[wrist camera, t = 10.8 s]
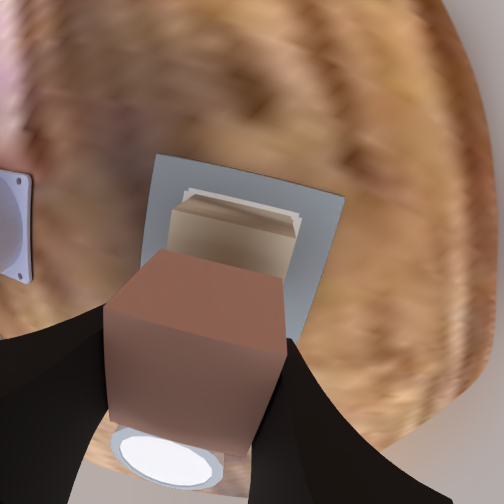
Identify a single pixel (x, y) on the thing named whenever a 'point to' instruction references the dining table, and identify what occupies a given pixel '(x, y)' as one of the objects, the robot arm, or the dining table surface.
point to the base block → (232, 235)
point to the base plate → (255, 195)
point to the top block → (194, 351)
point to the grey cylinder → (166, 460)
